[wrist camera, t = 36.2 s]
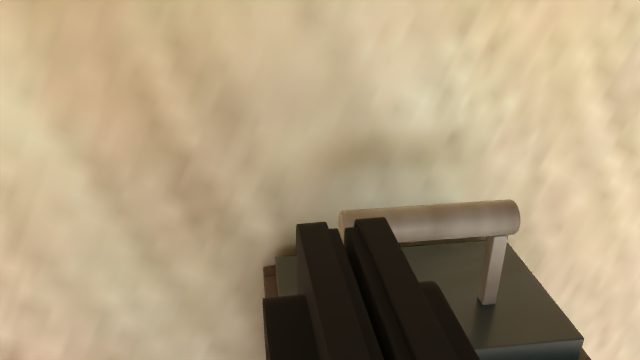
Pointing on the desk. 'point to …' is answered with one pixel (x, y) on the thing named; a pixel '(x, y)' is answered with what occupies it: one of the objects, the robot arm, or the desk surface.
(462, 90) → the desk surface
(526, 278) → the drawer
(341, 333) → the robot arm
